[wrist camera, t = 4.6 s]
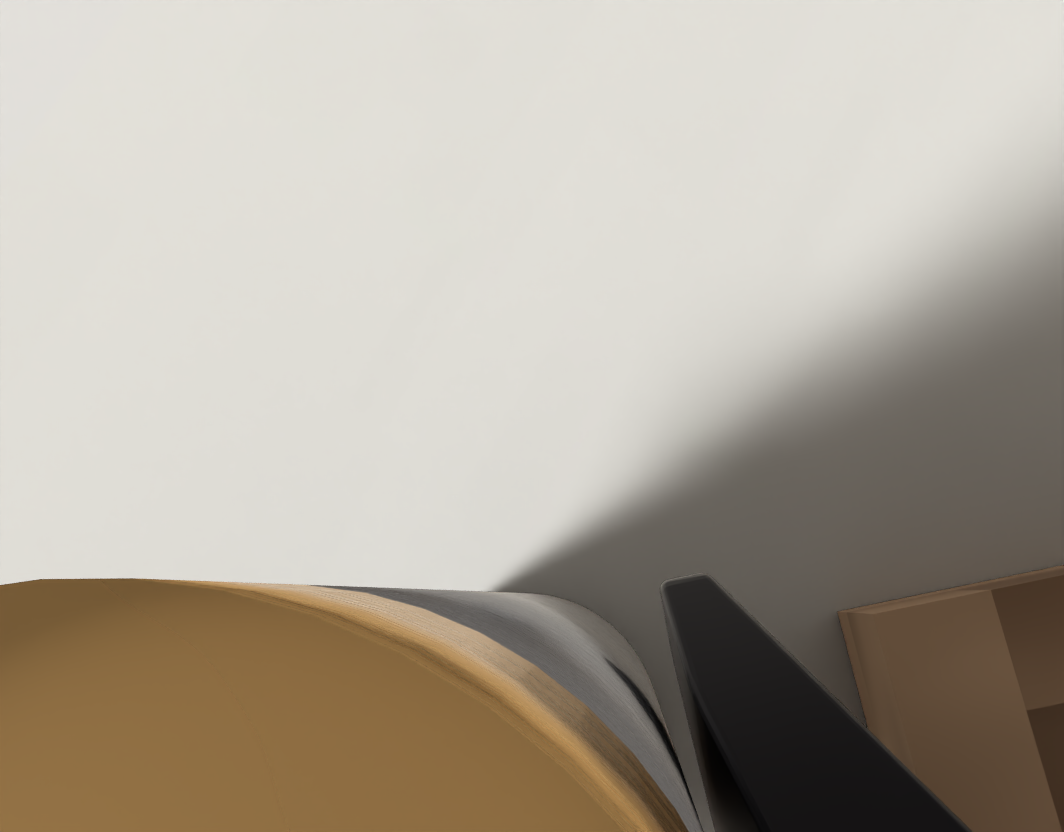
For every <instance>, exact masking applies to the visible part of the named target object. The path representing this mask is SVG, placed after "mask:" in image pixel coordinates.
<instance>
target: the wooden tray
mask: <svg viewBox="0 0 1064 832" xmlns="http://www.w3.org/2000/svg"><path fill="white" fill-rule="evenodd" d="M838 616H839V620H840V624H841V627H842V631H843V635H844V639H845V643H846V647H847V650H848V654H849V658H850V662H851V666H852V669H853V673H854V677H855V681H856V685H857V688H858V692H859V696H860V700H861V704H862V707H863V711H864V715H865V719H866V723H867V726H868V730H869V731H870V732H871V733H873V734H874V735H875V736H876V737H877V738H878V739H879V740H880V741H881V742H882V743H883V744H884V745H885V746H886V747H887V748H888V749H889V750H890V751H891V752H892V753H893V754H894V755H895V756H896V757H897V758H898V759H899V760H900V761H901V762H902V763H903V764H904V765H905V766H906V767H907V768H908V769H909V770H910V771H911V772H912V773H913V774H914V775H916V776H917V777H918V778H919V779H920V780H921V781H922V782H923V783H924V784H925V785H926V786H927V787H928V788H929V789H930V790H931V791H932V792H933V793H934V794H935V795H936V796H937V797H938V798H939V799H940V800H941V801H942V802H943V803H944V804H945V805H946V806H947V807H948V808H949V809H950V810H951V811H952V812H953V813H954V814H955V815H956V816H957V817H959V818H960V819H961V820H962V821H963V822H964V823H965V824H966V825H967V826H968V827H969V828H970V829H971V830H972V831H973V832H1064V565H1061V566H1056V567H1051V568H1046V569H1041V570H1037V571H1032V572H1027V573H1022V574H1017V575H1012V576H1007V577H1003V578H998V579H993V580H988V581H983V582H978V583H973V584H969V585H964V586H959V587H954V588H949V589H944V590H940V591H935V592H930V593H925V594H920V595H915V596H910V597H906V598H901V599H896V600H891V601H886V602H881V603H876V604H872V605H867V606H862V607H857V608H852V609H847V610H842V611H838Z"/></svg>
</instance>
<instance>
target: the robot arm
mask: <svg viewBox="0 0 1064 832" xmlns="http://www.w3.org/2000/svg"><path fill="white" fill-rule="evenodd" d="M660 594H661V599H662V605H663V610H664V615H665V621H666V626H667V631H668V637H669V642H670V647H671V652H672V657H673V662H674V666H675V670H676V675H677V679H678V683H679V687H680V691H681V695H682V699H683V703H684V707H685V711H686V715H687V720H688V724H689V728H690V732H691V736H692V740H693V744H694V748H695V752H696V756H697V761H698V765H699V769H700V773H701V777H702V781H703V785H704V789H705V793H706V797H707V801H708V806H709V810H710V814H711V817H712V821H713V825H714V828H715V832H973V831H972V830H971V829H970V828H969V827H968V826H967V825H966V824H965V823H964V822H963V821H962V820H961V819H960V818H959V817H957V816H956V815H955V814H954V813H953V812H952V811H951V810H950V809H949V808H948V807H947V806H946V805H945V804H944V803H943V802H942V801H941V800H940V799H939V798H938V797H937V796H936V795H935V794H934V793H933V792H932V791H931V790H930V789H929V788H928V787H927V786H926V785H925V784H924V783H923V782H922V781H921V780H920V779H919V778H918V777H917V776H916V775H914V774H913V773H912V772H911V771H910V770H909V769H908V768H907V767H906V766H905V765H904V764H903V763H902V762H901V761H900V760H899V759H898V758H897V757H896V756H895V755H894V754H893V753H892V752H891V751H890V750H889V749H888V748H887V747H886V746H885V745H884V744H883V743H882V742H881V741H880V740H879V739H878V738H877V737H876V736H875V735H874V734H873V733H871V732H870V731H869V730H868V729H867V728H866V727H865V726H864V725H863V724H862V723H861V722H860V721H859V720H858V719H857V718H856V717H855V716H854V715H853V714H852V713H851V712H850V711H849V710H848V709H847V708H846V707H845V706H844V705H843V704H842V703H841V702H840V701H839V700H838V699H837V698H836V697H835V696H834V695H833V694H832V693H831V692H830V691H828V690H827V689H826V688H825V687H824V686H823V685H822V684H821V683H820V682H819V681H818V680H817V679H816V678H815V677H814V676H813V675H812V674H811V673H810V672H809V671H808V670H807V669H806V668H805V667H804V666H803V665H802V664H801V663H800V662H799V661H798V660H797V659H796V658H795V657H794V656H793V655H792V654H791V653H790V652H789V651H788V650H787V649H785V648H784V647H783V646H782V645H781V644H780V643H779V642H778V641H777V640H776V639H775V638H774V637H773V636H772V635H771V634H770V633H769V632H768V631H767V630H766V629H765V628H764V627H763V626H762V625H761V624H760V623H759V622H758V621H757V620H756V619H755V618H754V617H753V616H752V615H751V614H750V613H749V612H748V611H747V610H746V609H745V608H744V607H742V606H741V605H740V604H739V603H738V602H737V601H736V600H735V599H734V598H733V597H732V596H731V595H730V594H729V593H728V592H727V591H726V590H725V589H724V588H723V587H722V586H721V585H720V584H719V583H718V582H717V581H716V580H715V579H714V578H713V577H711V576H710V575H708V574H706V573H697V574H692V575H687V576H682V577H677V578H672V579H668V580H665V581H664V582H663V583H662V584H661V587H660Z"/></svg>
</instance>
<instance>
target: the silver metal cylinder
mask: <svg viewBox="0 0 1064 832" xmlns="http://www.w3.org/2000/svg"><path fill="white" fill-rule="evenodd" d="M0 832H703V829H702V826H701V824H700V821H699V818H698V815H697V812H696V809H695V806H694V803H693V801H692V798H691V795H690V792H689V789H688V786H687V783H686V780H685V778H684V775H683V772H682V769H681V766H680V763H679V760H678V757H677V755H676V752H675V749H674V746H673V743H672V740H671V737H670V734H669V731H668V729H667V726H666V723H665V720H664V717H663V714H662V711H661V708H660V706H659V703H658V700H657V697H656V694H655V691H654V688H653V685H652V683H651V681H650V678H649V676H648V674H647V671H646V669H645V667H644V665H643V664H642V662H641V660H640V659H639V657H638V655H637V654H636V652H635V651H634V649H633V648H632V647H631V646H630V644H629V643H628V642H627V640H626V639H625V638H624V637H623V636H622V635H621V634H620V633H619V632H618V631H617V630H616V629H615V628H614V627H613V626H612V625H611V624H609V623H608V622H607V621H605V620H604V619H603V618H601V617H600V616H599V615H597V614H595V613H594V612H592V611H590V610H589V609H587V608H585V607H583V606H581V605H578V604H576V603H574V602H571V601H569V600H566V599H562V598H558V597H554V596H551V595H543V594H535V593H510V592H483V591H456V590H429V589H402V588H375V587H347V586H320V585H293V584H266V583H239V582H212V581H185V580H158V579H39V580H33V581H26V582H19V583H12V584H5V585H0Z"/></svg>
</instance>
